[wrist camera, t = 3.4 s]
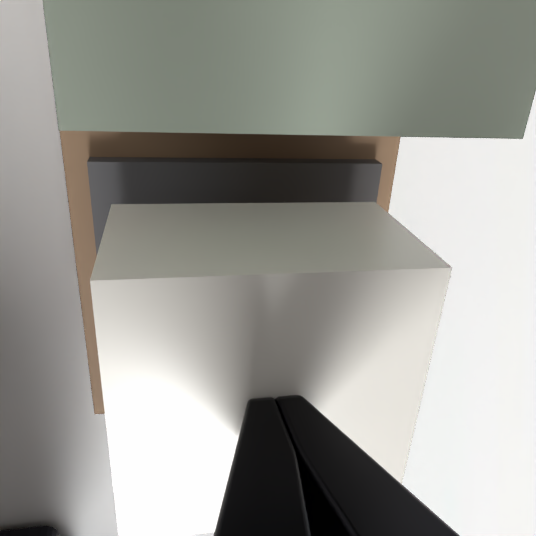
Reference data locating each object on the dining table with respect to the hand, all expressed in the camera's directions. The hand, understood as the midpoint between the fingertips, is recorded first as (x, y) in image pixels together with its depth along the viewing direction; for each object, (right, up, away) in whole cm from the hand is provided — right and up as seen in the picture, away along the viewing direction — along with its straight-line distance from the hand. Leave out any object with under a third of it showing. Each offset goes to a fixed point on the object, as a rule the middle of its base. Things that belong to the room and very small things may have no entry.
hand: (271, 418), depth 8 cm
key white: (-1, +1, +3) cm, 3 cm away
